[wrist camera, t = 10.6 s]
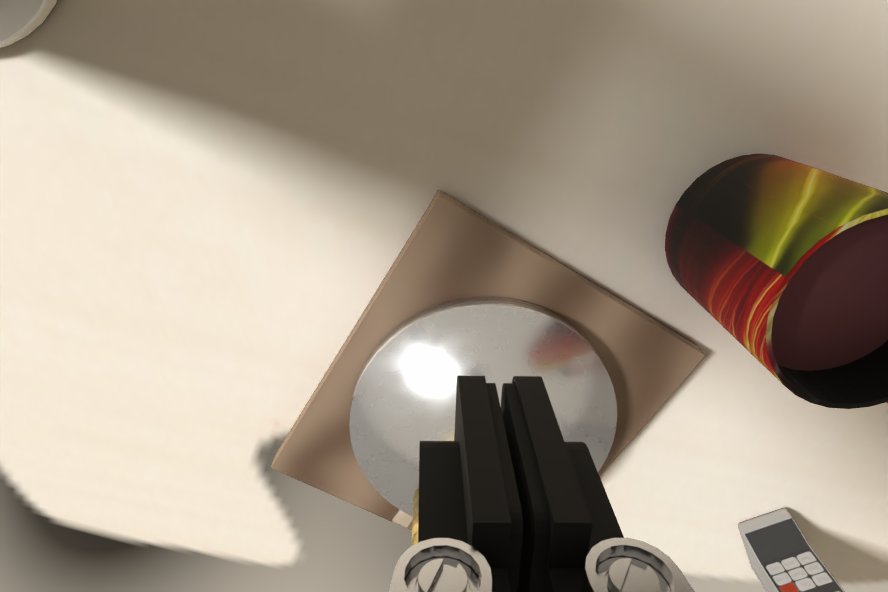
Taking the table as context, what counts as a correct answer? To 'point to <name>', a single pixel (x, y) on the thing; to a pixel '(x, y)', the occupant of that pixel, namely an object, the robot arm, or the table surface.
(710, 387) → the table surface
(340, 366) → the base board
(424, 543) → the robot arm
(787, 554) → the vintage mobile phone
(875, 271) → the mug
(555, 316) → the dial
